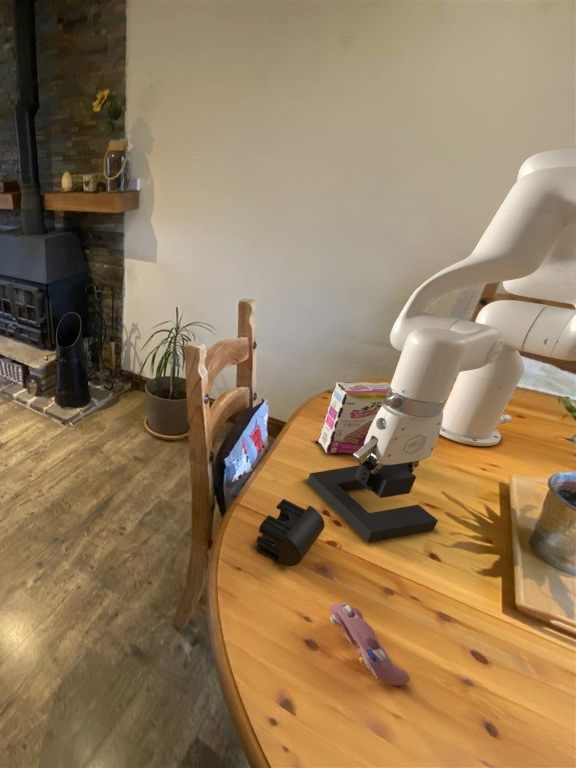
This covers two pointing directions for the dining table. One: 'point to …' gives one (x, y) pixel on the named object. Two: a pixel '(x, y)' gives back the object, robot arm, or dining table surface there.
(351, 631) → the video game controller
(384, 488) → the black square block
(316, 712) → the dining table surface
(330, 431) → the candy bar box
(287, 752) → the dining table surface
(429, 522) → the notch pad
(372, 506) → the dining table surface
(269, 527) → the end cap
